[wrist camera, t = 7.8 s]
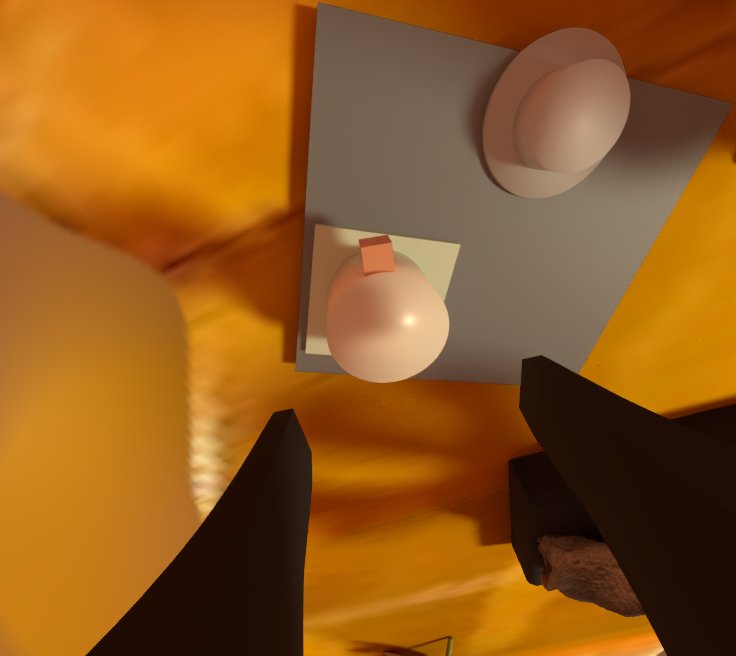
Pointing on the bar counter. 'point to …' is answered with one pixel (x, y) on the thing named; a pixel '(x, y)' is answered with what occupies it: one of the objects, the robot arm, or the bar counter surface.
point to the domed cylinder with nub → (384, 315)
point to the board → (491, 182)
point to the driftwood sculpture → (579, 527)
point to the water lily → (448, 652)
